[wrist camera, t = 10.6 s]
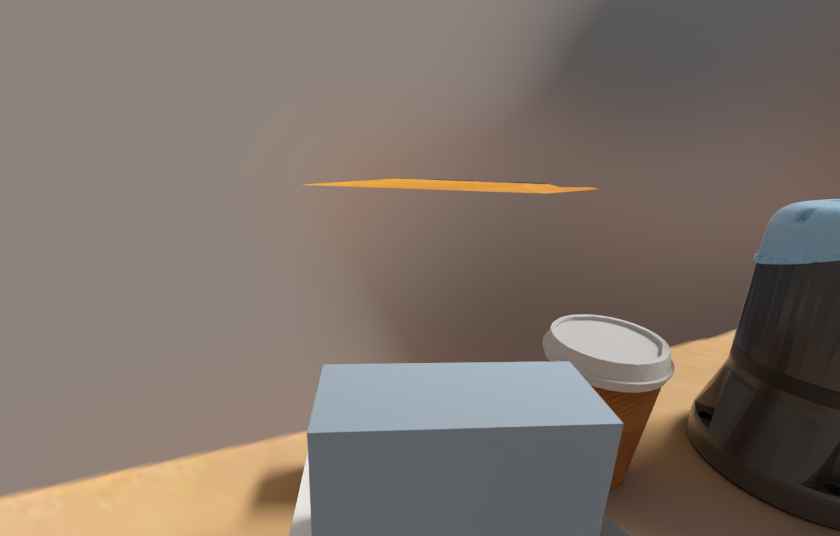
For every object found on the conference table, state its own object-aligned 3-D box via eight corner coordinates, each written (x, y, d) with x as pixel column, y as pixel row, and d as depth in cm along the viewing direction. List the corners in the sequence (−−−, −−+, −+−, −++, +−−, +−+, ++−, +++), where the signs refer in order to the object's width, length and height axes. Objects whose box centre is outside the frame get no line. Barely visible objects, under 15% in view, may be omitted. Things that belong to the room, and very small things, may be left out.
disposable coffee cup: (592, 527, 30) (622, 381, 26) (505, 444, 38) (519, 323, 34) (671, 481, 34) (705, 350, 31) (578, 415, 42) (597, 305, 39)
